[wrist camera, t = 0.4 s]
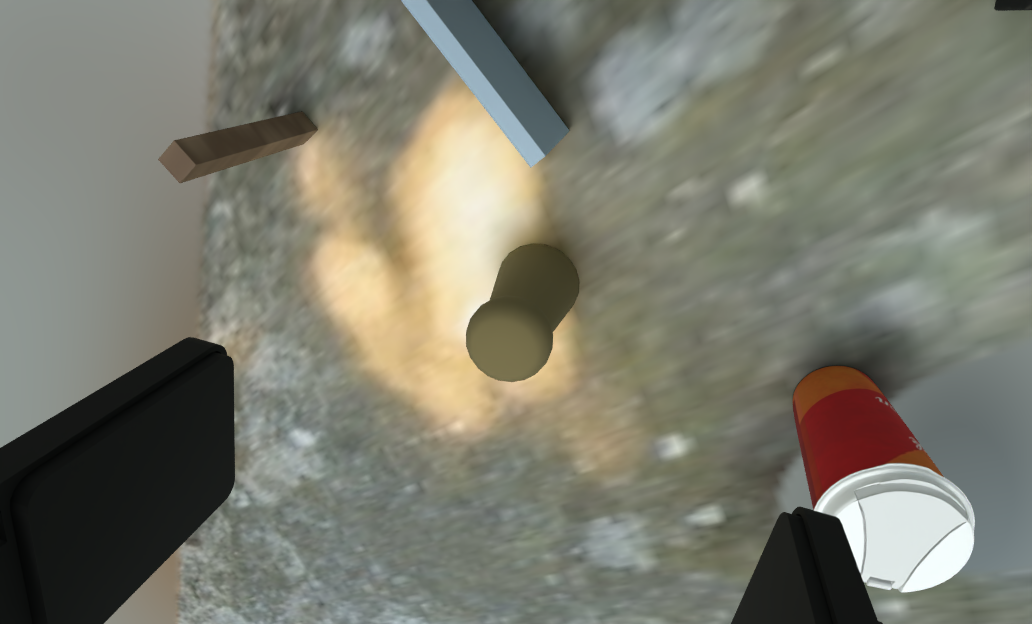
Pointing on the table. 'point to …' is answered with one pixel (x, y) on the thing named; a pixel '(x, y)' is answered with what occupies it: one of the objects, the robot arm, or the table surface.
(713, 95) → the table surface
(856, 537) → the paper cup
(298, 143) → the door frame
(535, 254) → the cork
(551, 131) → the door
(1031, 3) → the coral
